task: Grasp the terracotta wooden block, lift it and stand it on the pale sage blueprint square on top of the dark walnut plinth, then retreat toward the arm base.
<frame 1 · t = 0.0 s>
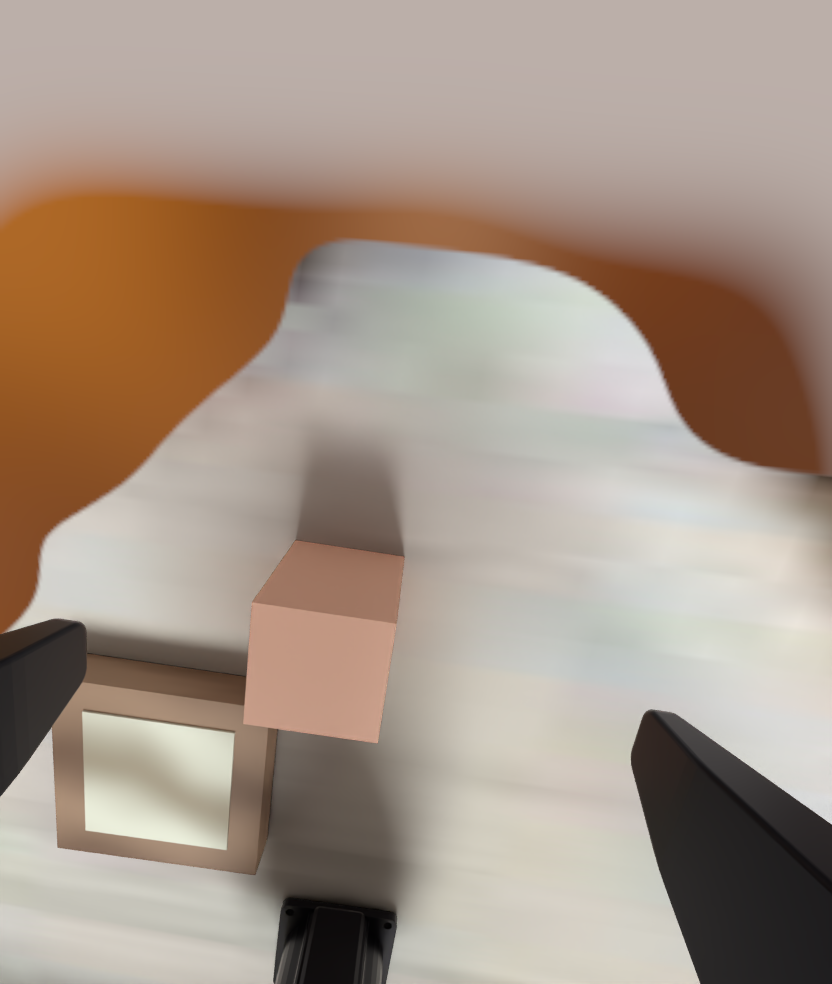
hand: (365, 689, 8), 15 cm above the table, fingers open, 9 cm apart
terracotta block: (344, 597, 24), on the table
walnut plinth: (178, 750, 26), on the table
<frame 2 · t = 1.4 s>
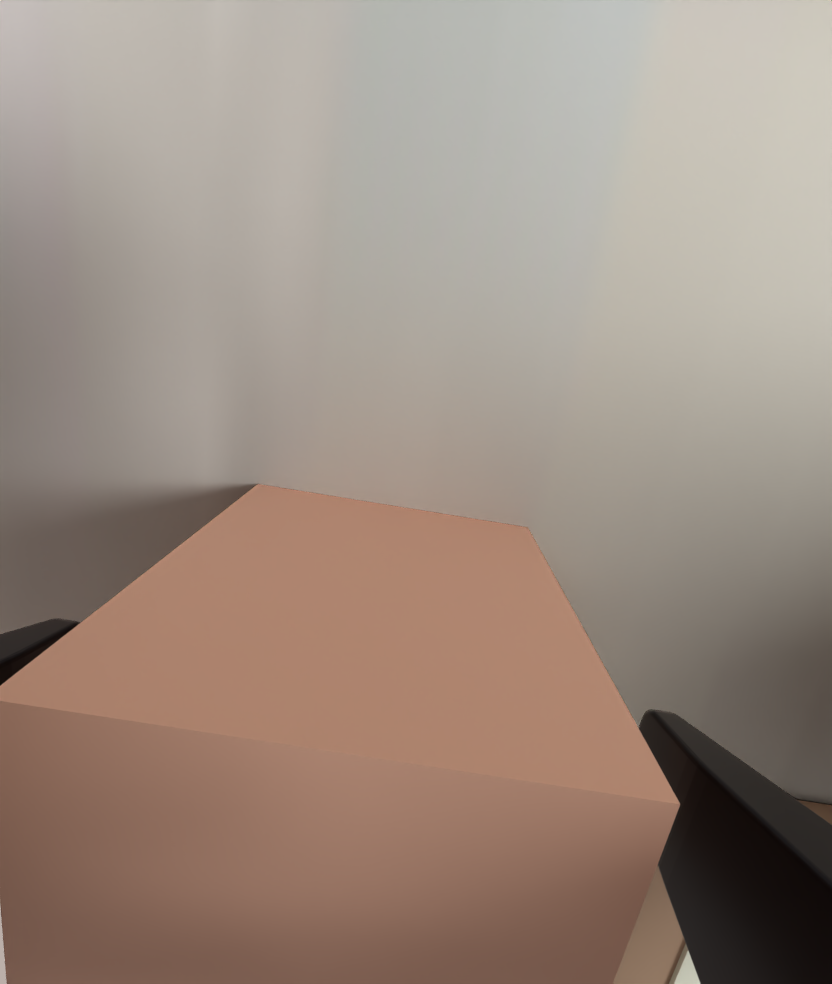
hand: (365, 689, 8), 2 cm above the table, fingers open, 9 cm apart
terracotta block: (375, 625, 10), on the table
walnut plinth: (747, 970, 12), on the table
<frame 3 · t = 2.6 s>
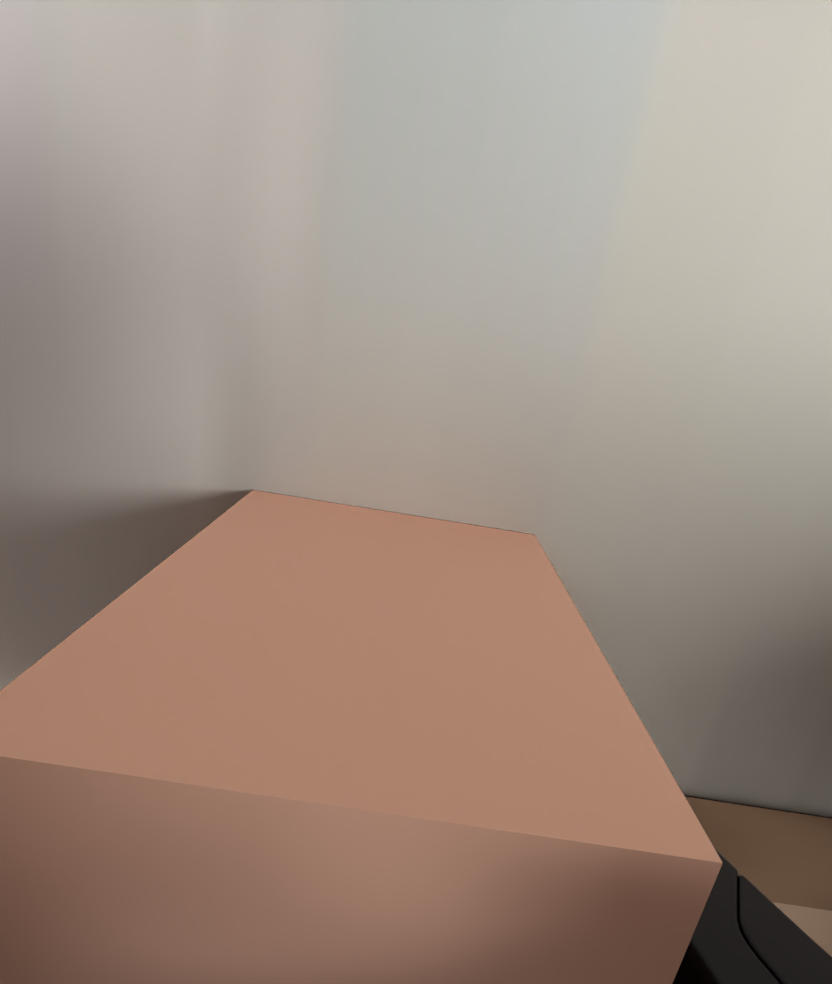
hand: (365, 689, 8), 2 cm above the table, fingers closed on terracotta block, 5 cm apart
terracotta block: (375, 637, 10), on the table, touching gripper
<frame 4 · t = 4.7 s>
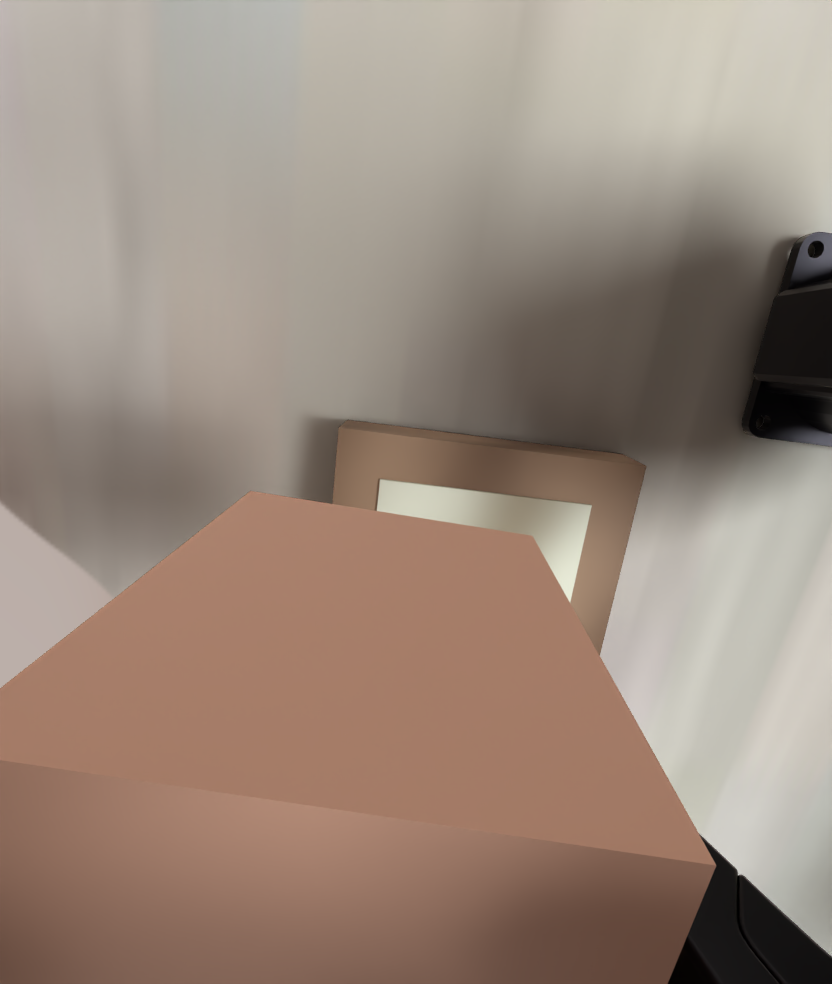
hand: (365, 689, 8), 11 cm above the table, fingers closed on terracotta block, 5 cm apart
terracotta block: (372, 638, 10), point 10 cm above the table, touching gripper
walnut plinth: (465, 565, 20), on the table
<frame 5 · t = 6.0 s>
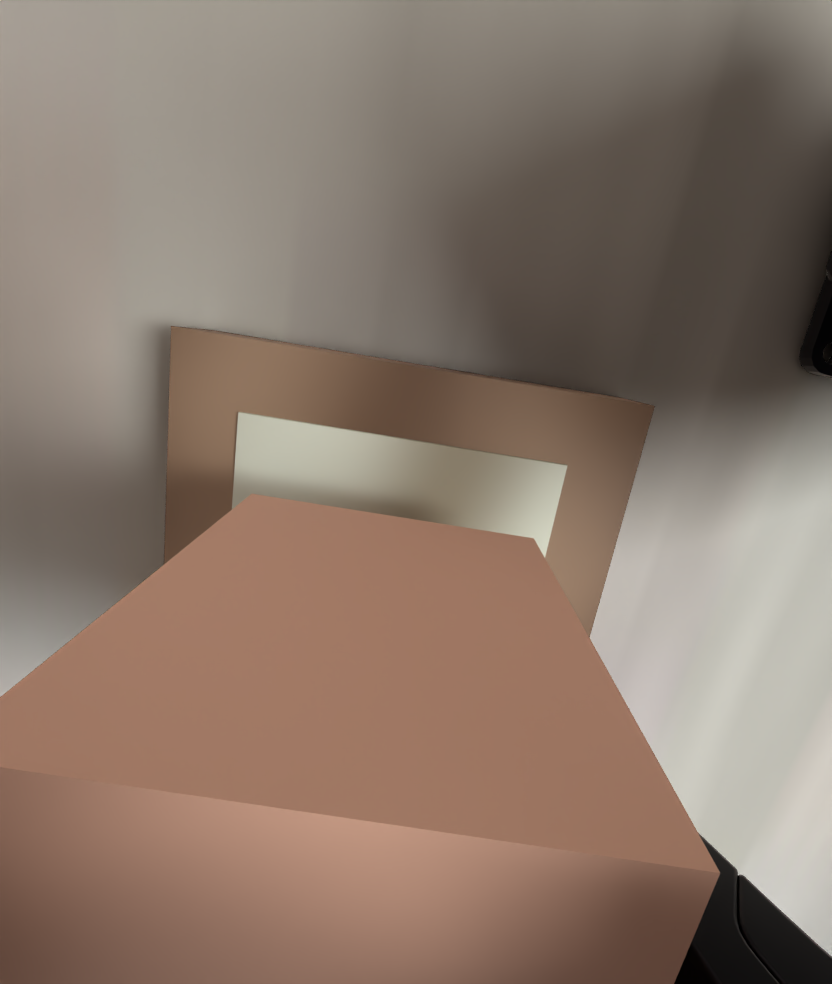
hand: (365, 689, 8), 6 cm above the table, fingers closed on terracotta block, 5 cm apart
terracotta block: (374, 640, 10), point 4 cm above the table, touching gripper
walnut plinth: (387, 554, 14), on the table
when the fingers open (5 cm above the table, at t = 7.0 s): terracotta block stays where it is, resting on walnut plinth.
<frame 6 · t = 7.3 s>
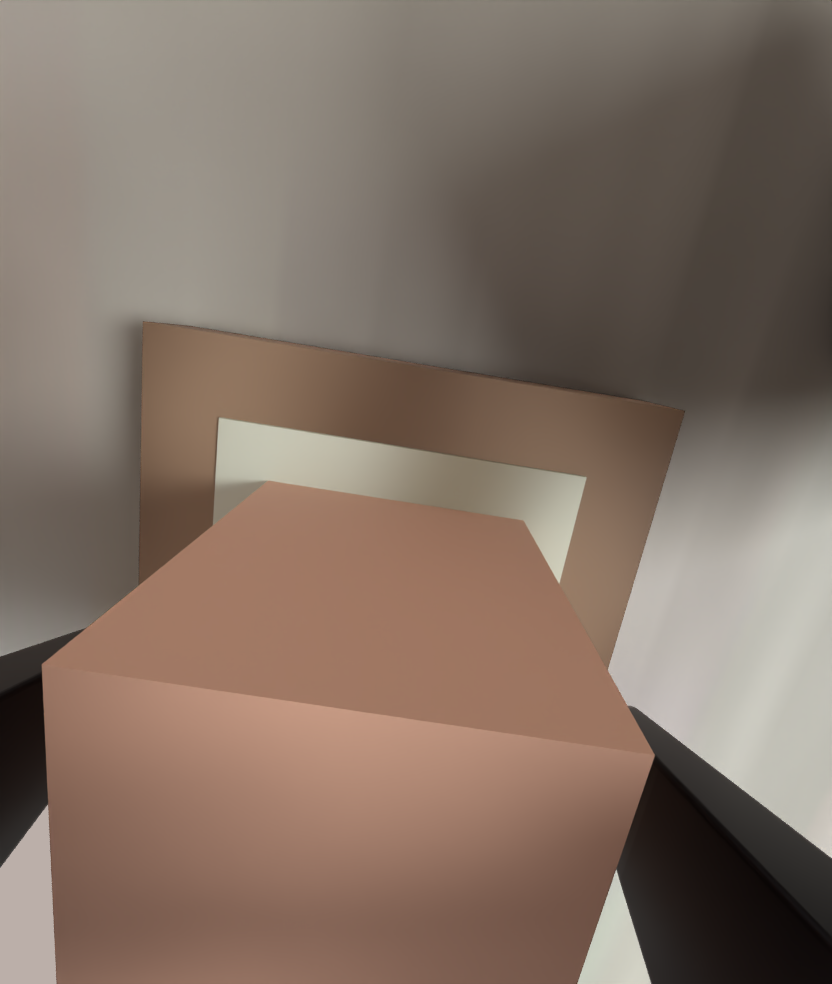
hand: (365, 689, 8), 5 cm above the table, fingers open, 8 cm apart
terracotta block: (379, 615, 11), point 2 cm above the table, touching walnut plinth
walnut plinth: (386, 570, 13), on the table
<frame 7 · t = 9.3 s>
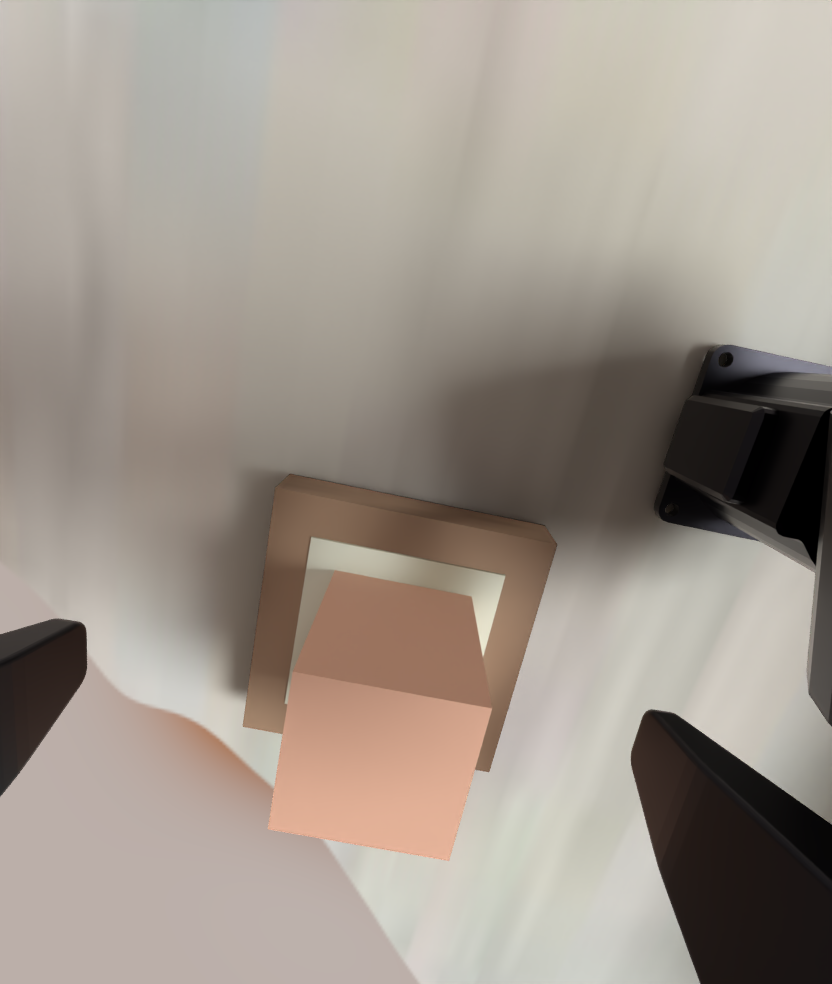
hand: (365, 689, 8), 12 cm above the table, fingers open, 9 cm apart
terracotta block: (390, 643, 19), point 2 cm above the table, touching walnut plinth
walnut plinth: (393, 614, 21), on the table
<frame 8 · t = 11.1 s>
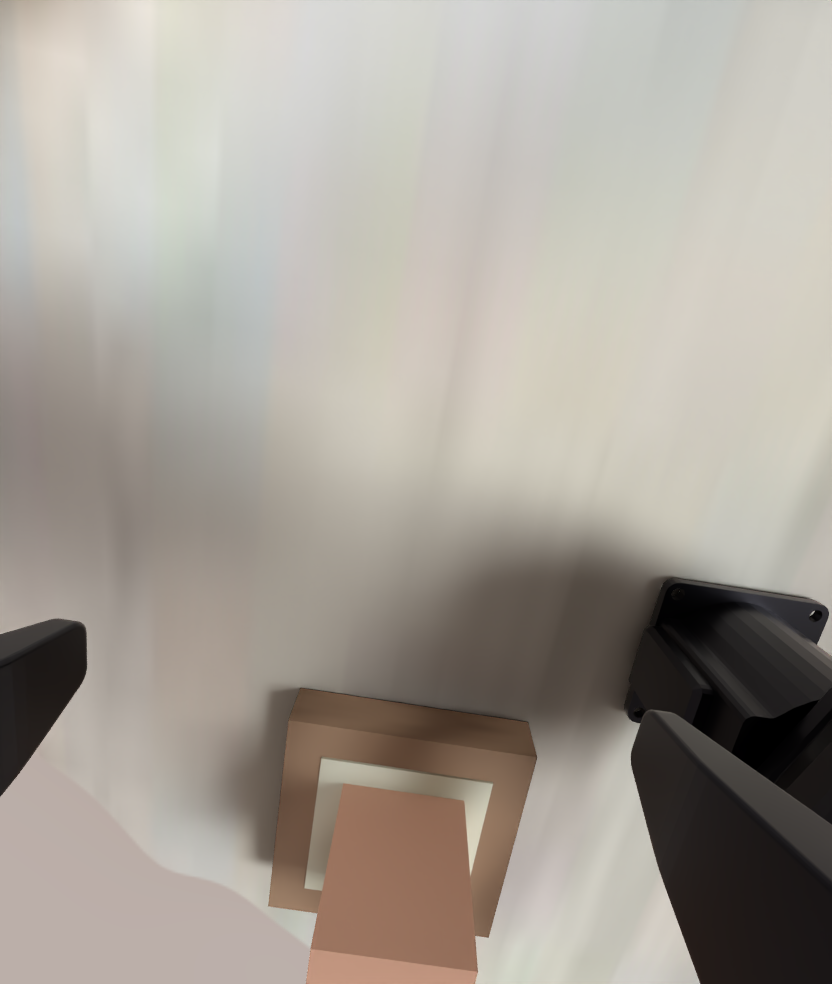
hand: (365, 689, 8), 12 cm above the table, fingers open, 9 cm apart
terracotta block: (395, 839, 22), point 2 cm above the table, touching walnut plinth
walnut plinth: (397, 796, 24), on the table
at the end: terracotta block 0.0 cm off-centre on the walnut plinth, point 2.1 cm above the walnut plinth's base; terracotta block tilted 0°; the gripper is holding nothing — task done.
